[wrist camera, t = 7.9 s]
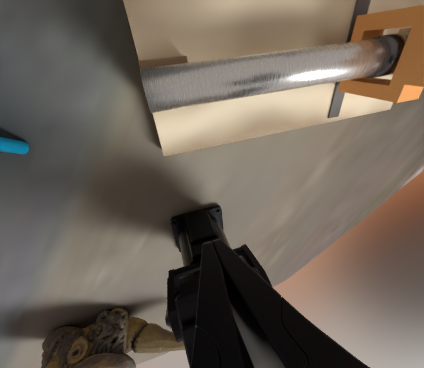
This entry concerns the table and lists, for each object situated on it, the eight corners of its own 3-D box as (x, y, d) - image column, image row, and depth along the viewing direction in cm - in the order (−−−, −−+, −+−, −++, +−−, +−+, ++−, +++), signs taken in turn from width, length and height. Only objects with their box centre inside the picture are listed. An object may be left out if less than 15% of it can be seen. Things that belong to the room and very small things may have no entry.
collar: (355, 87, 19) (452, 104, 13) (337, 90, 18) (428, 109, 13) (377, 13, 16) (518, -9, 10) (357, 15, 15) (490, -7, 9)
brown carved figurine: (33, 324, 28) (-11, 434, 20) (183, 279, 32) (196, 354, 24) (63, 346, 33) (38, 440, 25) (190, 305, 37) (202, 374, 29)
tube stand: (377, 106, 24) (441, 121, 19) (162, 149, 19) (169, 185, 14) (433, -40, 17) (558, -79, 12) (117, -26, 12) (98, -79, 7)
